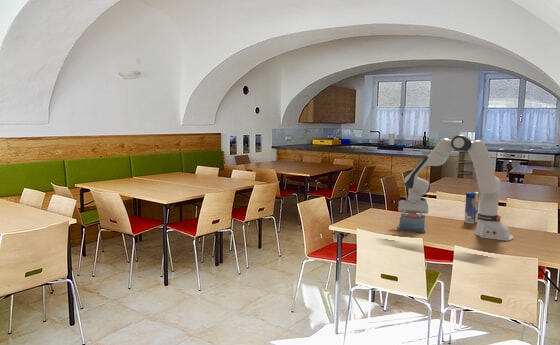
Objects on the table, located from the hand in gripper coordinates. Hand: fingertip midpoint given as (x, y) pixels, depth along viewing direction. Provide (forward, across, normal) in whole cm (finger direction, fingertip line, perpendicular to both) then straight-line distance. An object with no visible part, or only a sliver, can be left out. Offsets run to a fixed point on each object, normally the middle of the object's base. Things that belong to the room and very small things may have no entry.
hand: (412, 217), depth 297 cm
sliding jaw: (-1, 0, +10) cm, 10 cm away
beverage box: (-23, +40, +35) cm, 58 cm away
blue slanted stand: (+5, 0, +6) cm, 8 cm away
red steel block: (+4, 0, +5) cm, 7 cm away
